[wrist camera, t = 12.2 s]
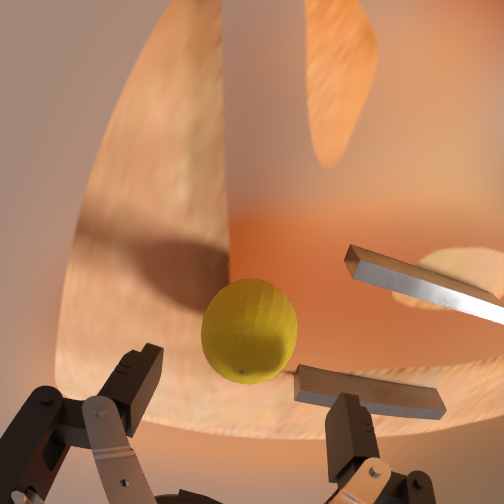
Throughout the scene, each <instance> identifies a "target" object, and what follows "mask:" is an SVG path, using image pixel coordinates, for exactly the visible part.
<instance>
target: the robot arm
mask: <svg viewBox="0 0 504 504" xmlns="http://www.w3.org/2000/svg"><path fill="white" fill-rule="evenodd" d="M163 352H164V349H163V348H162V347H159V346H156V345H153V344H150V343H146V345H145V346H144V348H143V349H142V351H141V352H138V351H135V350H132V351H130V352H128V353H127V354H125V355H124V356H123V357H122V359H121V360H120V362H119V364H118V365H117V366H116V368H115V369H114V371H113V372H112V374H111V375H110V377H109V378H108V380H107V381H106V383H105V384H104V386H103V387H102V389H101V390H100V392H99V393H98V394H97V395H96V396H92V397H89V398H88V399H86V400H83V401H80V400H73V399H68V398H63V397H62V394H61V393H60V392H59V390H57V389H56V388H54V387H51V386H41V387H38V388H36V389H35V390H34V391H33V392H32V393H31V395H30V396H29V397H28V399H27V400H26V402H25V403H24V405H23V406H22V407H21V409H20V411H19V412H18V413H17V415H16V416H15V418H14V419H13V421H12V422H11V424H10V425H9V426H8V428H7V430H6V431H5V433H4V434H3V436H2V437H1V439H0V504H45V503H44V501H45V499H46V497H47V494H48V492H49V490H50V488H51V486H52V484H53V482H54V479H55V477H56V475H57V473H58V471H59V469H60V467H61V465H62V463H63V461H64V459H65V457H66V455H67V452H68V451H69V449H70V447H71V446H75V447H80V448H86V449H92V452H93V456H94V459H95V463H96V466H97V469H98V472H99V476H100V479H101V481H102V485H103V487H104V490H105V493H106V495H107V498H108V501H109V504H223V503H220V502H218V501H216V500H214V499H211V498H209V497H207V496H204V495H200V494H196V493H192V492H188V491H185V490H181V489H180V490H179V494H178V495H177V494H176V495H175V494H165V495H158V496H153V494H152V491H151V490H150V487H149V485H148V482H147V480H146V478H145V476H144V473H143V471H142V469H141V466H140V464H139V461H138V459H137V456H136V454H135V452H134V450H133V449H131V447H130V444H129V442H128V439H127V436H129V437H131V438H132V437H133V435H134V433H135V431H136V429H137V427H138V425H139V422H140V420H141V418H142V416H143V414H144V412H145V410H146V408H147V406H148V404H149V402H150V400H151V398H152V396H153V393H154V391H155V389H156V387H157V385H158V383H159V380H160V377H161V372H162V362H163ZM325 432H326V444H327V460H328V476H329V482H331V483H337V484H338V488H337V489H336V490H335V491H334V492H333V493H332V495H331V496H330V497H329V498H328V499H327V500H326V502H324V503H323V504H436V501H435V496H434V491H433V486H432V481H431V479H430V477H429V476H428V475H427V474H426V473H424V472H422V471H413V472H411V473H410V474H408V475H407V476H406V475H402V474H399V473H395V472H392V471H391V470H390V467H389V465H388V464H387V463H386V462H385V461H384V460H382V459H380V455H379V450H378V446H377V441H376V436H375V433H374V427H373V422H372V418H371V415H370V413H369V412H368V410H367V409H366V407H364V406H361V405H360V401H359V396H358V395H357V394H350V393H344V392H342V393H340V394H339V396H338V398H337V399H336V401H335V402H334V404H333V406H332V407H331V409H330V410H329V412H328V414H327V416H326V420H325Z"/></svg>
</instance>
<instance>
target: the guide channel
mask: <svg viewBox="0 0 504 504" xmlns="http://www.w3.org/2000/svg"><path fill="white" fill-rule="evenodd" d="M344 262H345V264H346V266H347V268H348V270H349V272H350V274H351V276H352V278H353V279H356V280H359V281H362V282H366V283H369V284H372V285H376V286H379V287H383V288H386V289H389V290H392V291H396V292H399V293H402V294H406V295H409V296H412V297H415V298H419V299H422V300H425V301H429V302H432V303H435V304H439V305H442V306H445V307H449V308H452V309H455V310H458V311H462V312H465V313H469V314H472V315H475V316H478V317H481V318H485V319H488V320H491V321H495V322H498V323H501V324H504V304H503V303H502V302H501V301H500V300H499V299H498V298H497V297H495V296H494V295H493V294H491V293H488V292H485V291H483V290H480V289H477V288H475V287H472V286H469V285H467V284H464V283H461V282H459V281H456V280H453V279H450V278H447V277H445V276H442V275H439V274H436V273H434V272H431V271H428V270H425V269H422V268H419V267H416V266H414V265H410V264H408V263H405V262H402V261H399V260H396V259H393V258H390V257H387V256H384V255H381V254H378V253H375V252H372V251H369V250H366V249H363V248H360V247H357V246H354V245H350V246H349V249H348V251H347V254H346V257H345V259H344ZM342 392H344V393H350V394H357V395H358V396H359V401H360V405H361V406H364V407H366V409H367V410H368V412H369V413H370V414H377V415H386V416H395V417H406V418H419V419H434V420H440V419H441V417H442V416H443V415H444V414H445V412H446V411H447V410H446V407H445V405H444V403H443V401H442V399H441V397H440V395H439V393H438V391H437V389H431V388H423V387H416V386H409V385H403V384H396V383H390V382H384V381H378V380H373V379H367V378H362V377H357V376H351V375H346V374H342V373H337V372H332V371H327V370H323V369H318V368H314V367H309V366H305V365H301V364H299V365H298V367H297V370H296V372H295V374H294V401H298V402H303V403H308V404H314V405H319V406H324V407H330V408H331V407H332V406H333V404H334V402H335V401H336V399H337V398H338V396H339V394H340V393H342Z"/></svg>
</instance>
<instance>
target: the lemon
mask: <svg viewBox="0 0 504 504" xmlns="http://www.w3.org/2000/svg"><path fill="white" fill-rule="evenodd" d="M297 332H298V327H297V320H296V314H295V311H294V309H293V307H292V304H291V302H290V300H289V299H288V298H287V296H286V295H285V294H284V293H283V292H282V291H281V290H280V289H279V288H277V287H276V286H274V285H273V284H271V283H269V282H266V281H263V280H258V279H243V280H239V281H236V282H233V283H230V284H229V285H227V286H226V287H224V288H223V289H221V290H220V291H219V292H218V293H217V294H216V295H215V297H214V298H213V299H212V300H211V301H210V303H209V305H208V307H207V310H206V312H205V314H204V317H203V322H202V330H201V340H202V346H203V351H204V354H205V356H206V358H207V360H208V362H209V364H210V365H211V366H212V368H213V369H214V370H215V371H216V372H217V373H219V374H220V375H221V376H223V377H224V378H226V379H228V380H230V381H233V382H236V383H240V384H255V383H260V382H263V381H266V380H269V379H270V378H272V377H274V376H275V375H277V374H278V373H279V372H280V371H281V370H282V369H283V368H284V367H285V366H286V364H287V363H288V361H289V359H290V357H291V355H292V353H293V350H294V348H295V344H296V338H297Z"/></svg>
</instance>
